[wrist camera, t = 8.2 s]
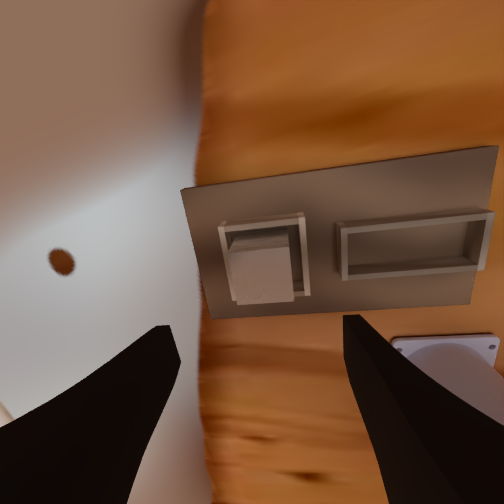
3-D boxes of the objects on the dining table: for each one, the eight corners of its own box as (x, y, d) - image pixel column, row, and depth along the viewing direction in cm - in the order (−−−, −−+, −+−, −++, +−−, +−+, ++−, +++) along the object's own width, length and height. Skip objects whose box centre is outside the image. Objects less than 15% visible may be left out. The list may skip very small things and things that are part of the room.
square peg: (291, 269, 19) (294, 301, 15) (246, 272, 20) (237, 305, 16) (287, 224, 18) (289, 246, 14) (239, 230, 19) (227, 253, 15)
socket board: (460, 297, 20) (484, 316, 18) (213, 312, 23) (206, 330, 21) (486, 145, 16) (521, 145, 14) (184, 188, 19) (171, 193, 17)
